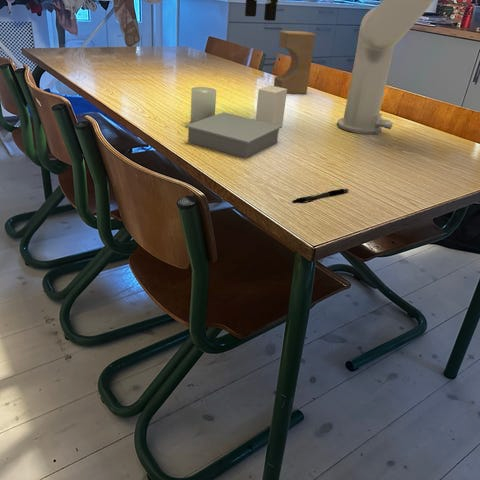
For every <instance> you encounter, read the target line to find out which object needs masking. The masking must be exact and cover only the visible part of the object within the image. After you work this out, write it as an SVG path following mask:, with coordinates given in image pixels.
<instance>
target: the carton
mask: <svg viewBox="0 0 480 480" xmlns="http://www.w3.org/2000/svg"><path fill="white" fill-rule="evenodd" d="M287 95H288V94H287V89H285V88H280V87H275V86H274V85H267V86H266V87H262V88H259V89H258V92H257V104H256V112H255V120H259V121H263V122H267V123H271V124H275V125H279V126H283V122H284V116H285V115H284V114H285V107H286V99H287Z"/></svg>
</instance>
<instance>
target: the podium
mask: <svg viewBox="0 0 480 480" xmlns="http://www.w3.org/2000/svg"><path fill="white" fill-rule="evenodd" d="M282 126H283V125H282ZM282 126H279V125H275V124H271V123H267V122H263V121H259V120H256V119H253V118H250V117H246V116H242V115H238V114H232V113H230V112H225V111H224V112H220V113H217V114H215V115H214V116H211V117H208V118H205V119H203V120H200V121H197V122H194V123H191V124H190V123H188V124H186V125H185V128H186V129H187V128H188V130H187V132H188V135H187V136H188V137H187V142H188V143H190V144H194V145H198V146H202V147H205V148H209V149H212V150H216V151H219V152H224V153H226V154H230V155H234V156H237V157H240V158H244V159H245V158H246V159H247V158H249V157H252V155H254V154H257V153H258V152H260V151H262V150H264V149H266V148H268V147H270V146H272V145H273V144H275V143H277V142H278V137H279V130H280V129H282Z"/></svg>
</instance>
